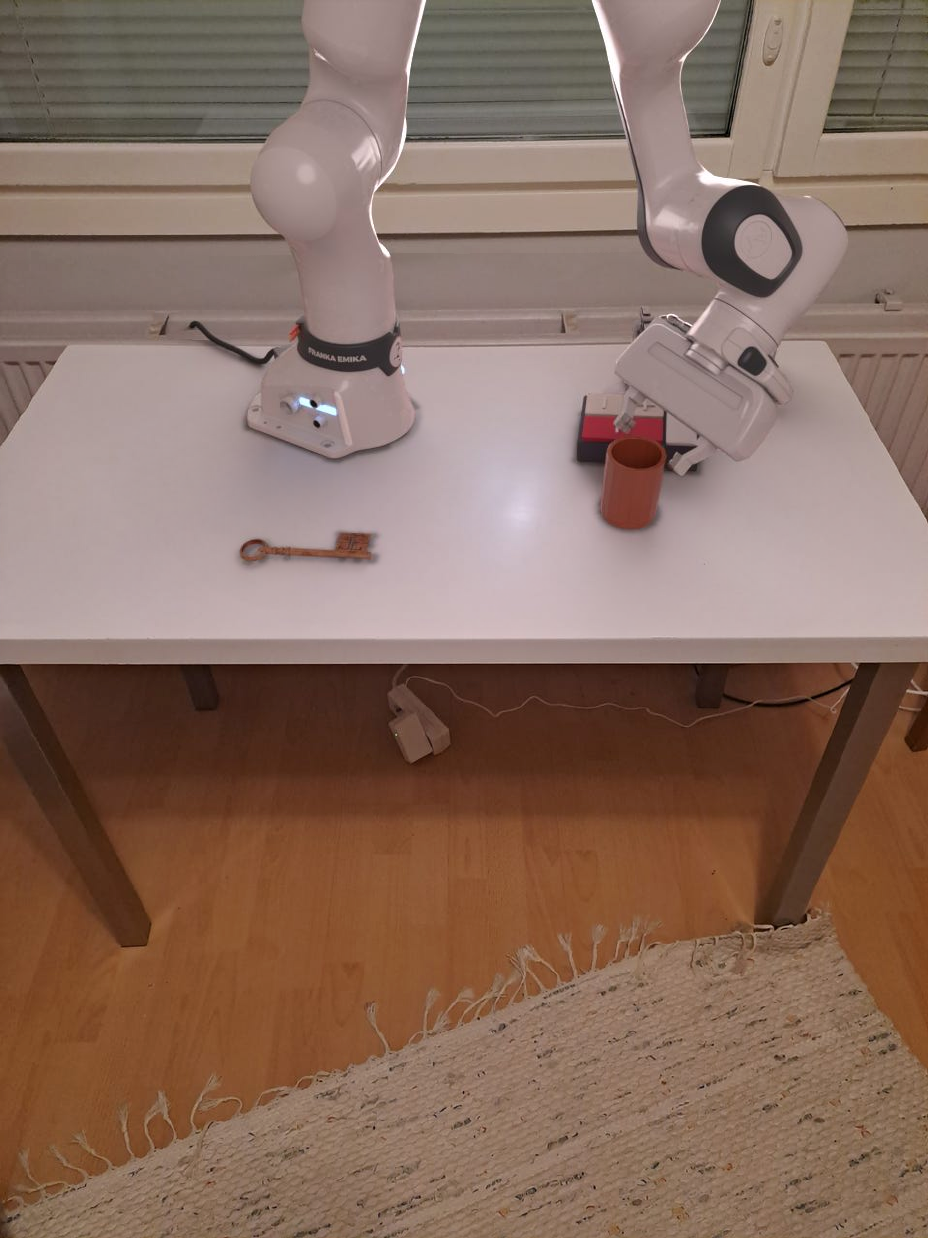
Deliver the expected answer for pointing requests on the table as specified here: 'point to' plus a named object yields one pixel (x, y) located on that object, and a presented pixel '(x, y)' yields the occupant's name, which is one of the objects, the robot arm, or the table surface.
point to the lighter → (641, 323)
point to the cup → (632, 482)
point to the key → (341, 552)
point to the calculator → (650, 424)
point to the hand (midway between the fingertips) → (646, 449)
